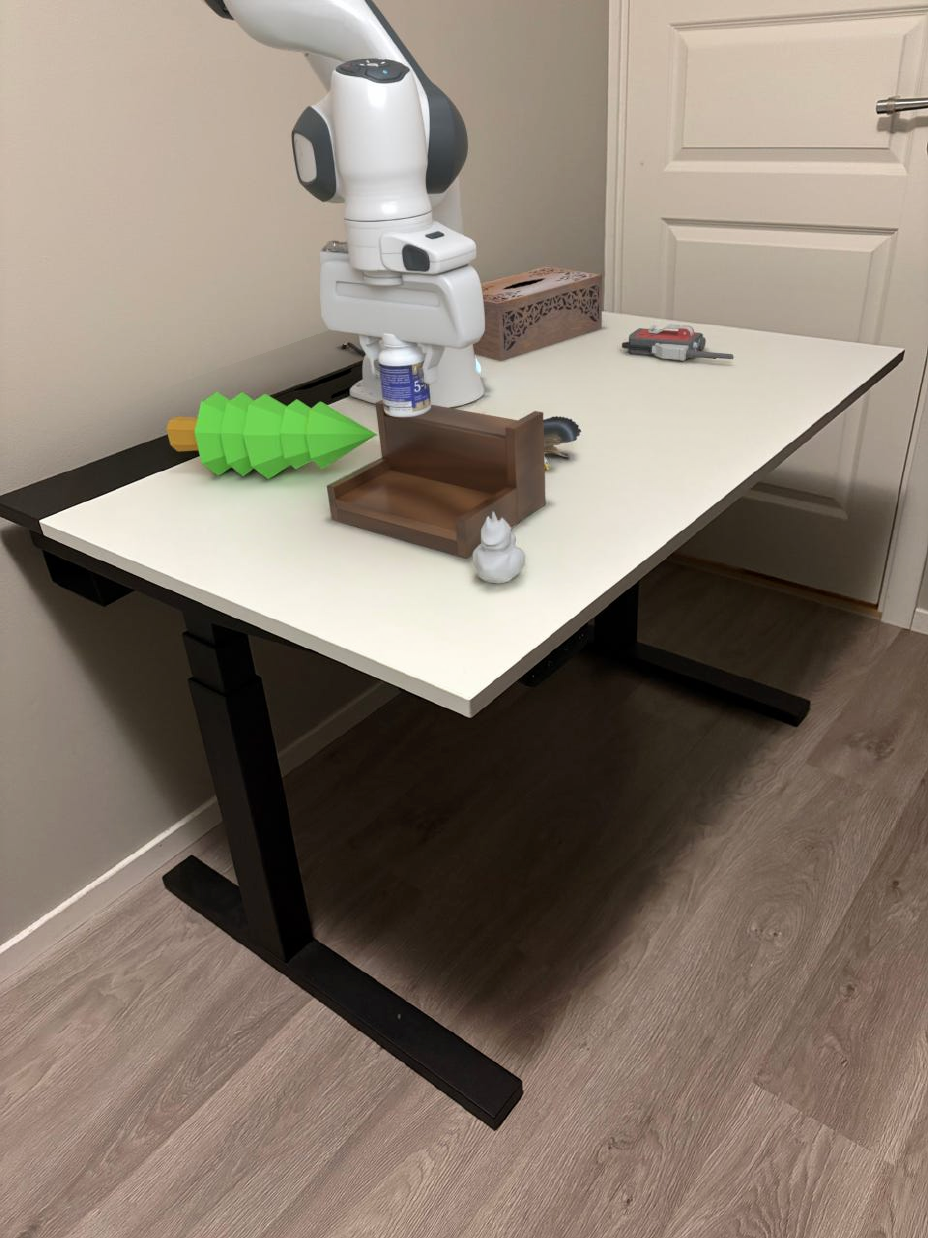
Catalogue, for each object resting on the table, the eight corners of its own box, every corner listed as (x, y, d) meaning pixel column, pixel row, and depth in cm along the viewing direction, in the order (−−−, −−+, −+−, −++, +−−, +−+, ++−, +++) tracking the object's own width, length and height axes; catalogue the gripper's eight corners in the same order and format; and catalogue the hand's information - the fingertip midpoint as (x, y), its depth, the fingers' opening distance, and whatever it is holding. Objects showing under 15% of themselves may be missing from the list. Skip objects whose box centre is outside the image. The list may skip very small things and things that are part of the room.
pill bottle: (425, 418, 102) (417, 335, 98) (378, 418, 103) (368, 336, 99) (436, 402, 107) (429, 322, 102) (391, 402, 108) (382, 323, 103)
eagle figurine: (538, 476, 118) (592, 445, 121) (510, 425, 118) (565, 395, 121) (513, 489, 125) (565, 460, 129) (487, 441, 125) (539, 413, 128)
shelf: (467, 558, 103) (459, 459, 97) (331, 520, 114) (317, 429, 108) (545, 504, 114) (543, 411, 108) (415, 473, 125) (406, 388, 119)
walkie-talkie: (615, 356, 163) (730, 367, 154) (616, 330, 161) (732, 340, 152) (635, 343, 169) (746, 352, 160) (635, 317, 167) (749, 326, 158)
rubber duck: (464, 587, 98) (458, 517, 94) (488, 558, 103) (484, 491, 99) (513, 595, 96) (509, 523, 92) (535, 565, 101) (533, 496, 97)
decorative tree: (174, 374, 129) (377, 371, 120) (209, 437, 138) (401, 438, 128) (139, 432, 123) (350, 433, 113) (178, 494, 131) (377, 499, 122)
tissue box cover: (501, 361, 166) (498, 303, 161) (449, 348, 176) (444, 292, 171) (601, 329, 180) (602, 274, 174) (548, 318, 189) (547, 265, 184)
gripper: (297, 244, 100) (316, 374, 107) (450, 256, 88) (461, 400, 96) (338, 233, 104) (354, 359, 111) (489, 243, 93) (497, 382, 100)
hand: (405, 378), depth 103 cm, fingers closed on pill bottle, 5 cm apart
